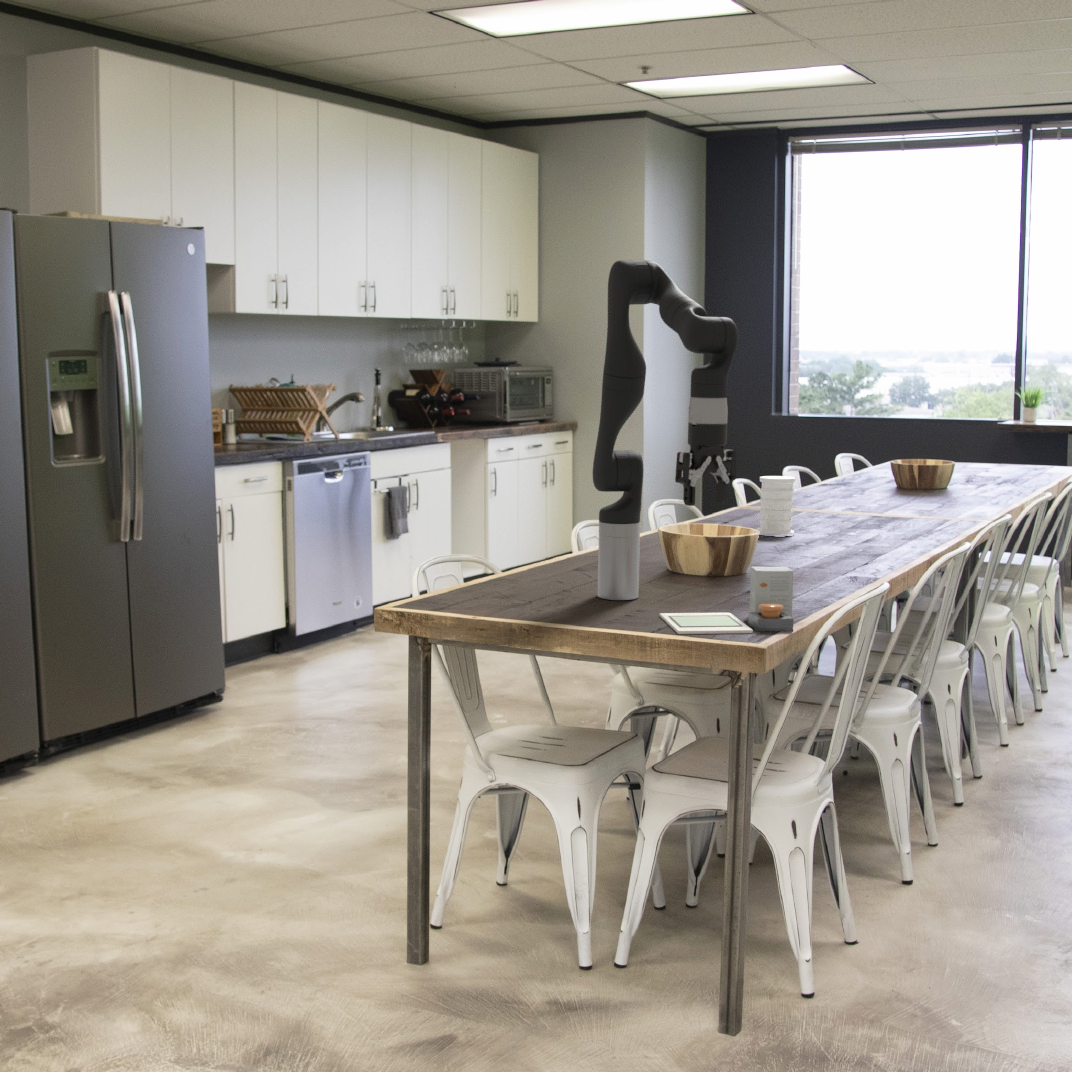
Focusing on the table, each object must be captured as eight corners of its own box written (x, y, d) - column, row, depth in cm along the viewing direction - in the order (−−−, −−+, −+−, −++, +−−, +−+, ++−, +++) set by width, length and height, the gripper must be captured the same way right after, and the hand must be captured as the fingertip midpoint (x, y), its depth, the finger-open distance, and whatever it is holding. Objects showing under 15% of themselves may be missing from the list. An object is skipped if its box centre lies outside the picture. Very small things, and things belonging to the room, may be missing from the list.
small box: (786, 615, 270) (788, 566, 269) (792, 620, 264) (794, 570, 263) (748, 615, 270) (750, 566, 268) (754, 620, 264) (755, 570, 263)
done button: (755, 618, 259) (756, 603, 258) (778, 617, 259) (779, 603, 259) (762, 622, 254) (762, 608, 254) (785, 622, 255) (786, 607, 254)
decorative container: (772, 531, 405) (774, 475, 403) (802, 535, 397) (804, 477, 394) (748, 534, 398) (750, 477, 396) (778, 538, 389) (780, 479, 387)
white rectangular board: (659, 616, 267) (659, 612, 267) (729, 615, 269) (729, 611, 269) (678, 634, 250) (678, 630, 250) (752, 633, 251) (753, 629, 251)
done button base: (748, 624, 260) (748, 612, 260) (782, 623, 261) (782, 611, 260) (757, 631, 253) (758, 619, 253) (793, 631, 254) (793, 618, 253)
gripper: (719, 419, 254) (717, 499, 257) (667, 420, 246) (665, 504, 248) (747, 421, 248) (744, 503, 251) (695, 423, 240) (692, 508, 242)
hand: (705, 503), depth 249 cm, fingers open, 8 cm apart
